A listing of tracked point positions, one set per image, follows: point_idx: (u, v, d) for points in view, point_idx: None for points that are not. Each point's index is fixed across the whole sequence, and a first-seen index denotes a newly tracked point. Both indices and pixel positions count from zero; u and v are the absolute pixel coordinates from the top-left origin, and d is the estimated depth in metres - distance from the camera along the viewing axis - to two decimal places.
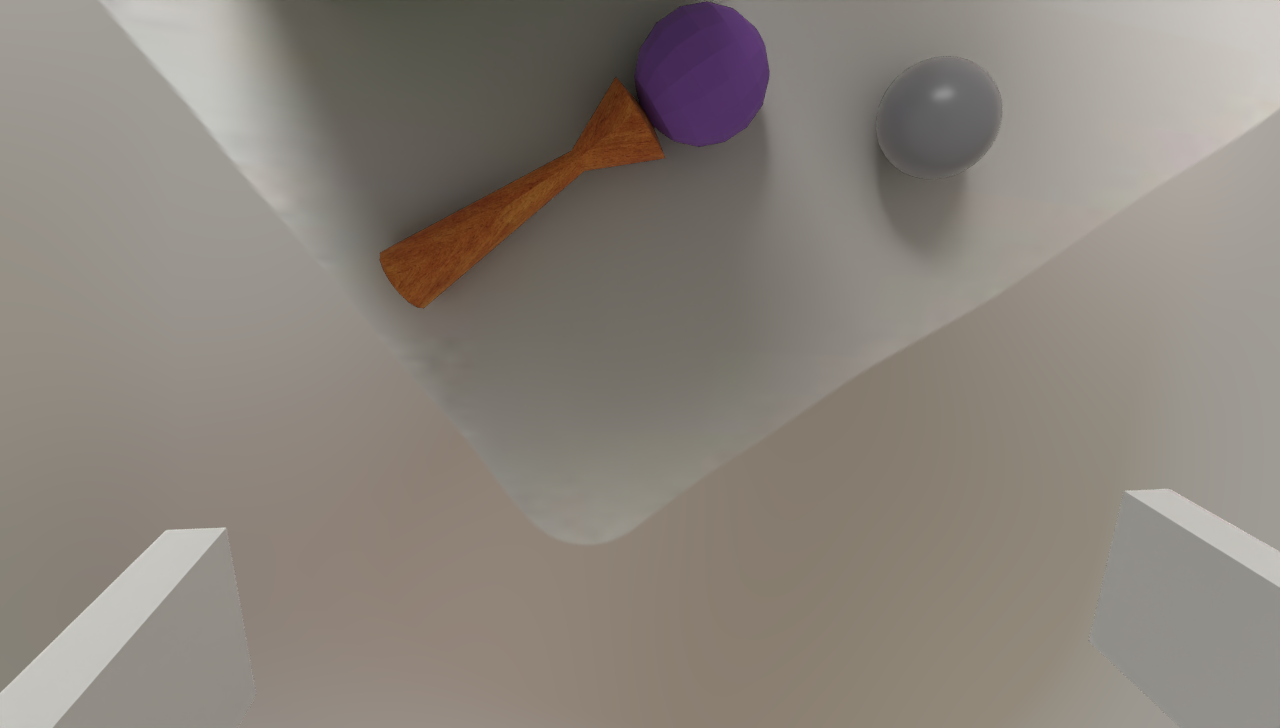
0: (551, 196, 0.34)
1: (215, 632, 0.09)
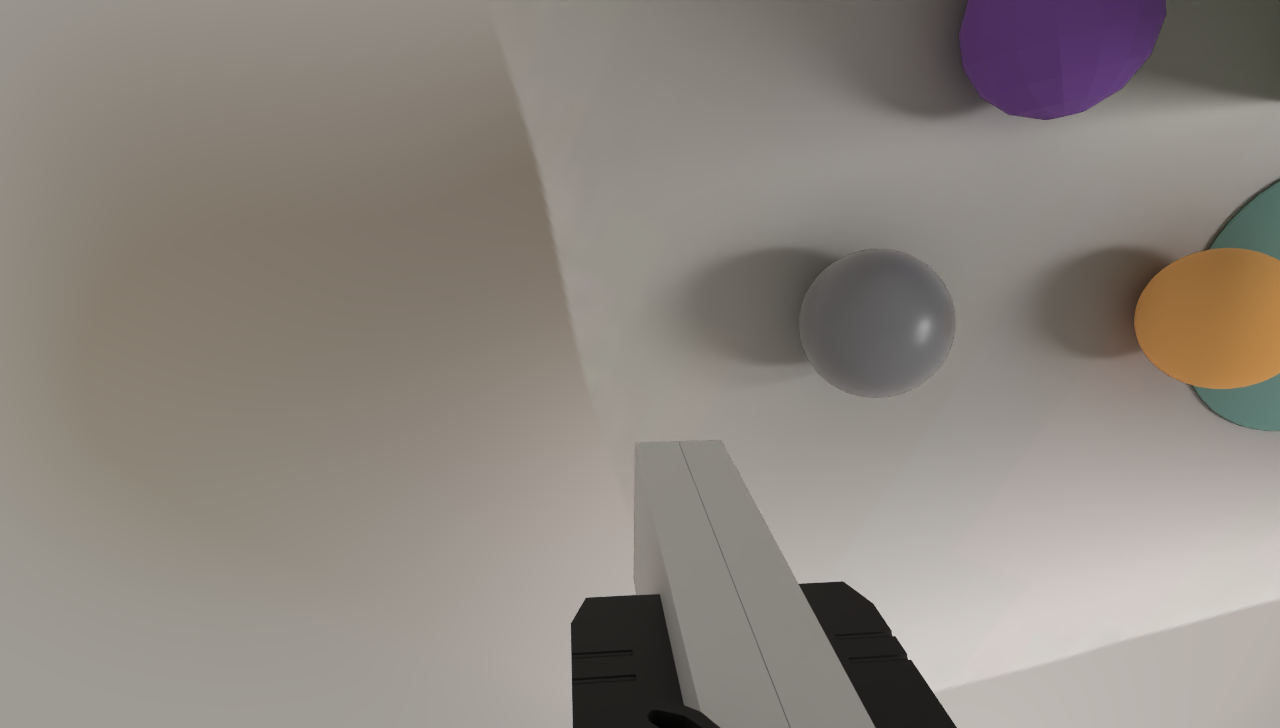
0: None
1: None
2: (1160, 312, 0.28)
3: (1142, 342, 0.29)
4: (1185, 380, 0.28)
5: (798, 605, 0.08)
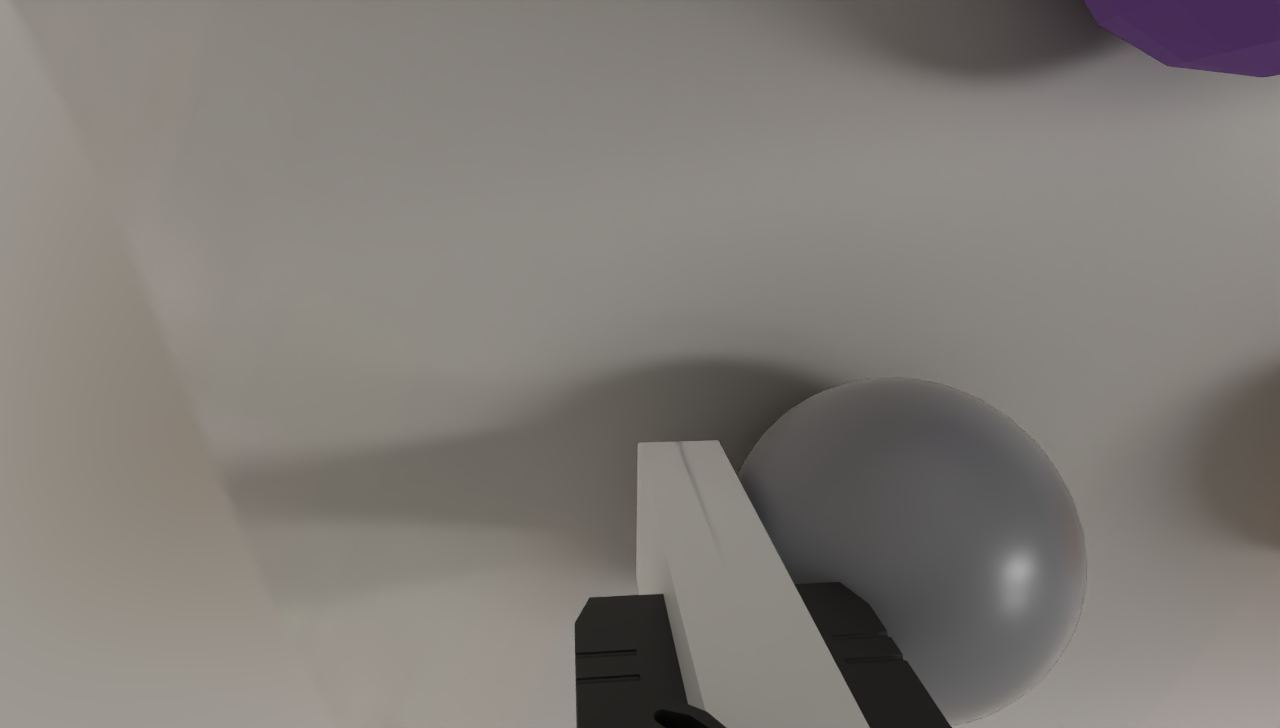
0: None
1: None
2: None
3: None
4: None
5: (793, 605, 0.08)
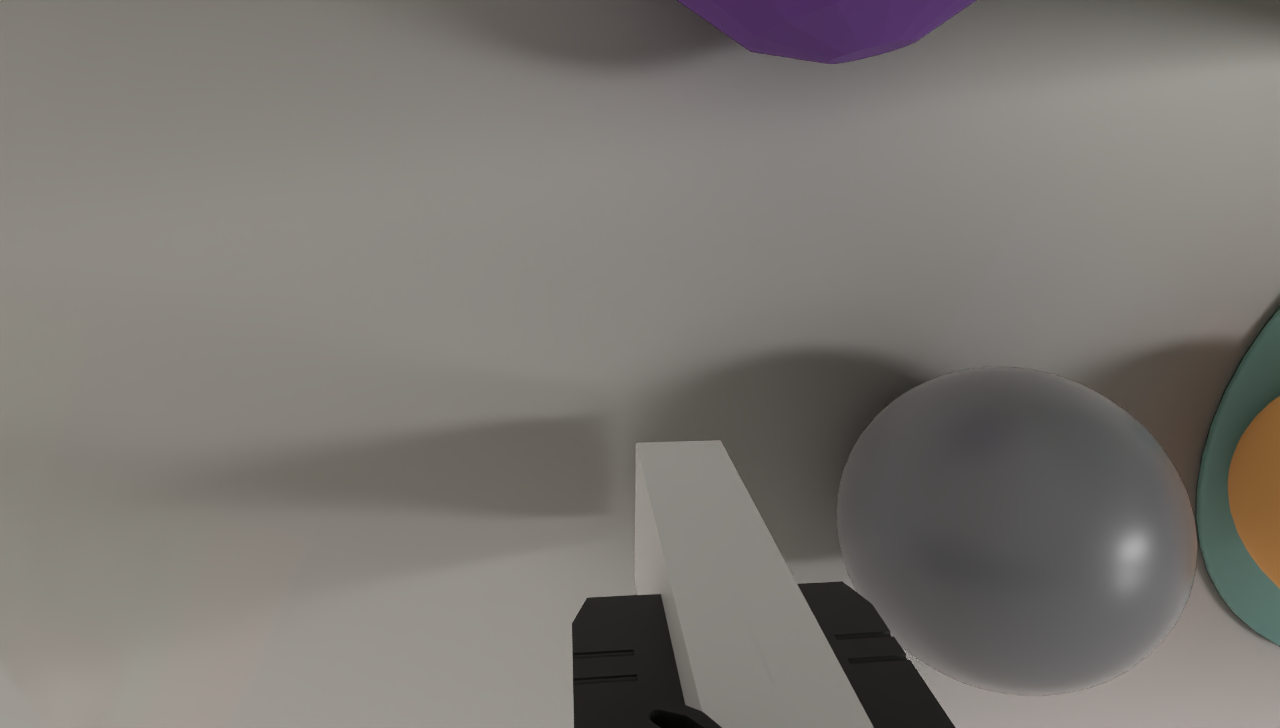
0: None
1: None
2: None
3: None
4: None
5: (797, 605, 0.08)
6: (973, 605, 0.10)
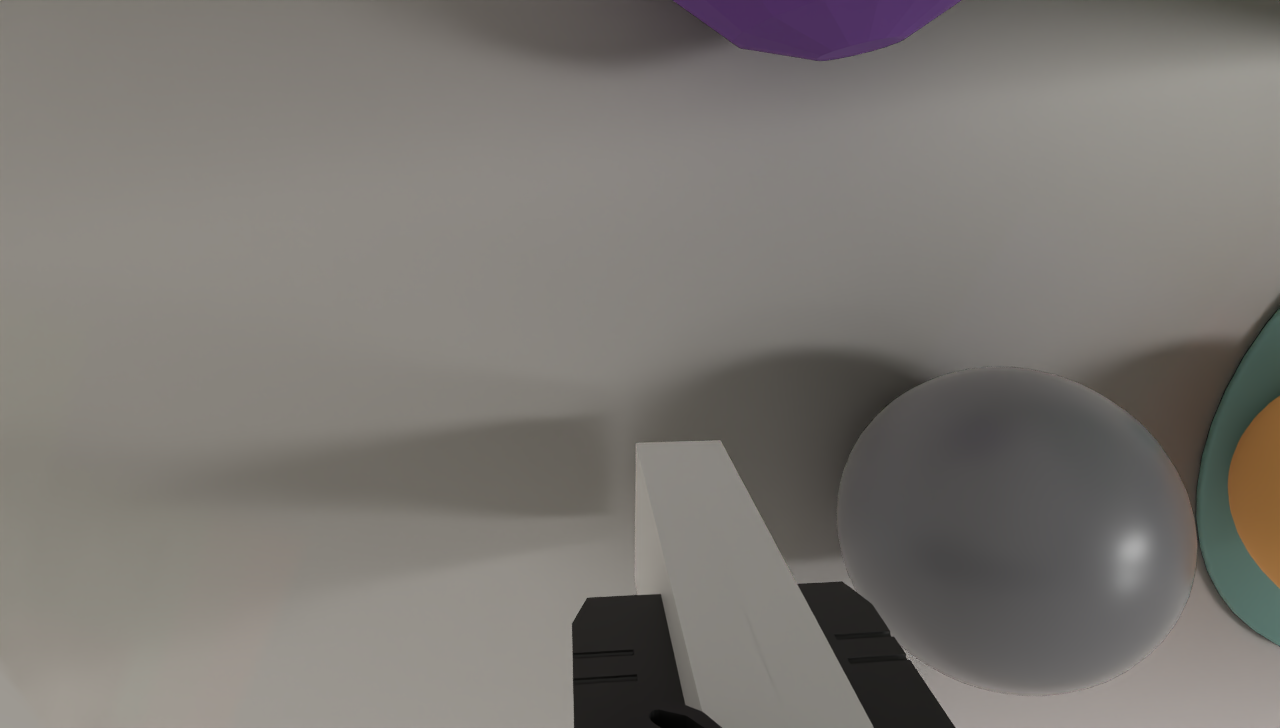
0: None
1: None
2: None
3: None
4: None
5: (797, 605, 0.08)
6: (973, 605, 0.10)
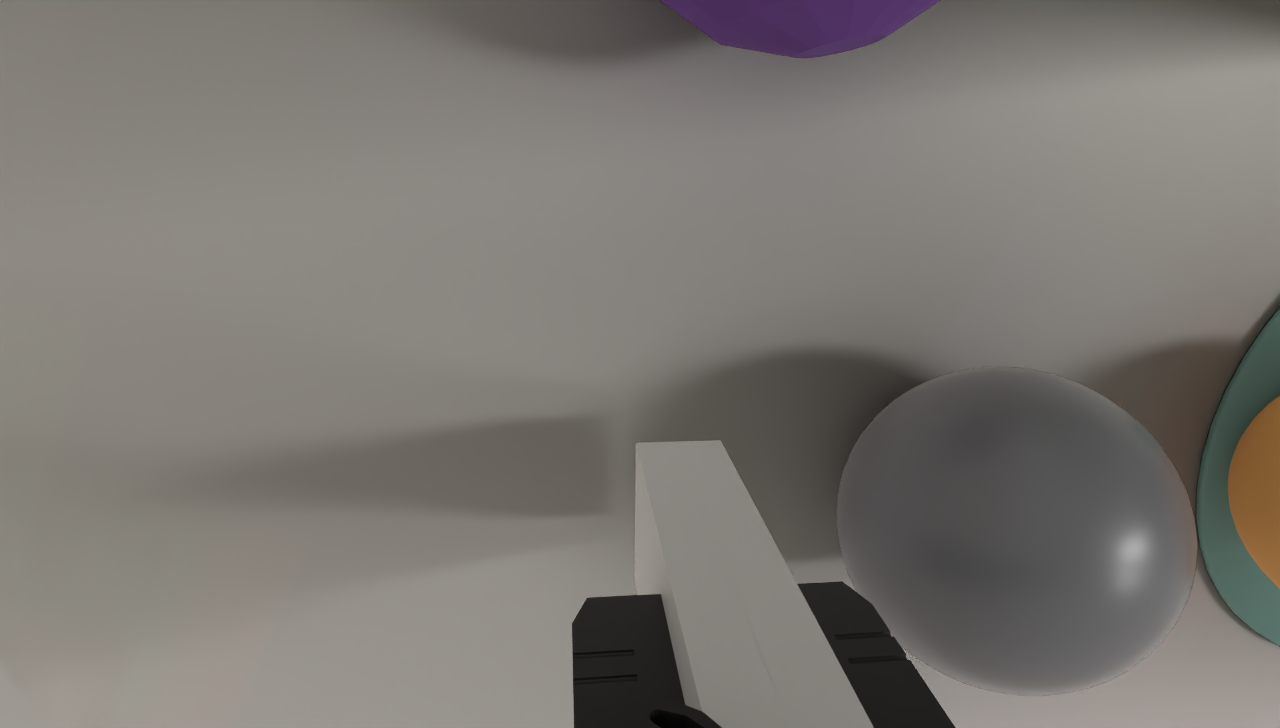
0: None
1: None
2: None
3: None
4: None
5: (797, 605, 0.08)
6: (973, 605, 0.10)
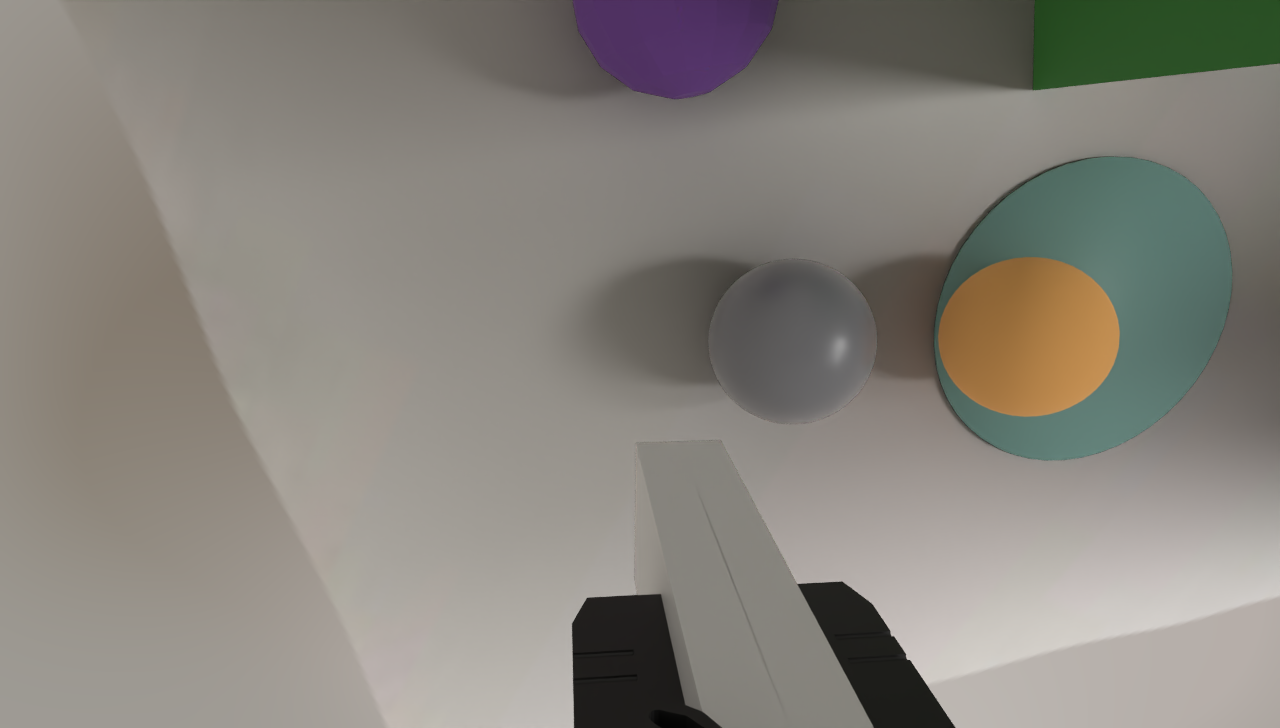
0: None
1: None
2: (1033, 346, 0.22)
3: (995, 384, 0.23)
4: (1031, 415, 0.24)
5: (796, 605, 0.08)
6: (757, 362, 0.22)
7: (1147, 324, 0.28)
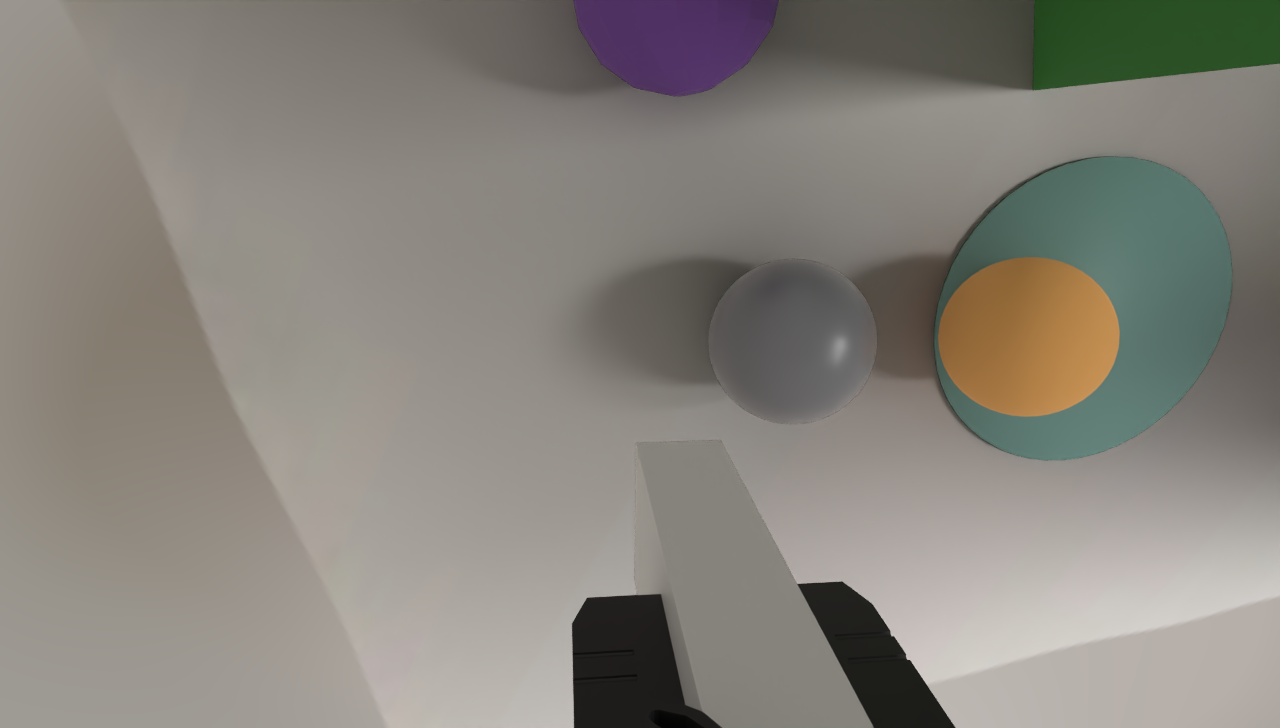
0: None
1: None
2: (1033, 346, 0.22)
3: (995, 384, 0.23)
4: (1031, 414, 0.24)
5: (796, 605, 0.08)
6: (757, 362, 0.22)
7: (1147, 324, 0.28)
